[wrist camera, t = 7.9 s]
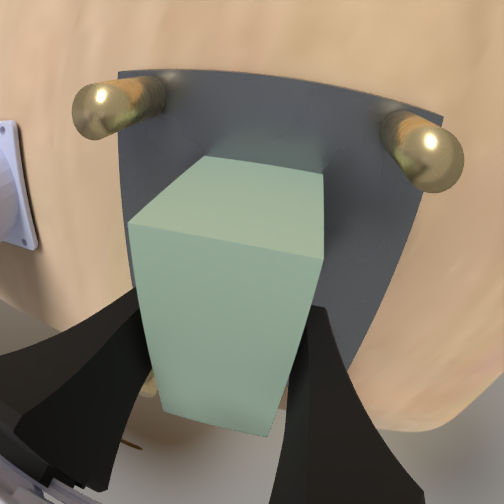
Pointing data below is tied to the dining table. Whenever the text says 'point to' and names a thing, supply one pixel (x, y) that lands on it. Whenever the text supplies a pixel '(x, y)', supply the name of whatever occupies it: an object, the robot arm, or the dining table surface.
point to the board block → (228, 286)
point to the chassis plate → (285, 163)
